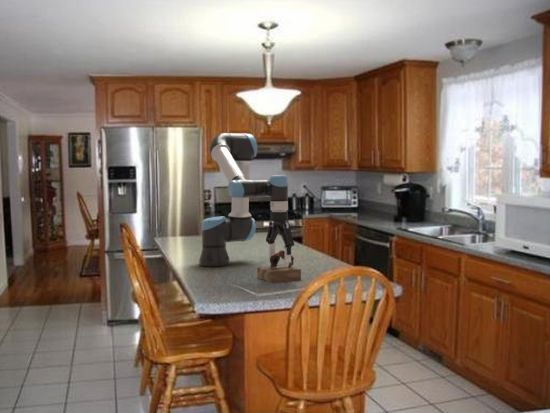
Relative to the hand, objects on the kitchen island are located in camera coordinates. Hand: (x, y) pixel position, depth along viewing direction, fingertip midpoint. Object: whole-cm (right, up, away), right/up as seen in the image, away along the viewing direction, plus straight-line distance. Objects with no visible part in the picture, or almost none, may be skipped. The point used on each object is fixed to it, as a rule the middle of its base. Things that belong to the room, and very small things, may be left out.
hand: (279, 260), depth 241 cm
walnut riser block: (0, -8, 0) cm, 8 cm away
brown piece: (-2, -4, +1) cm, 5 cm away
